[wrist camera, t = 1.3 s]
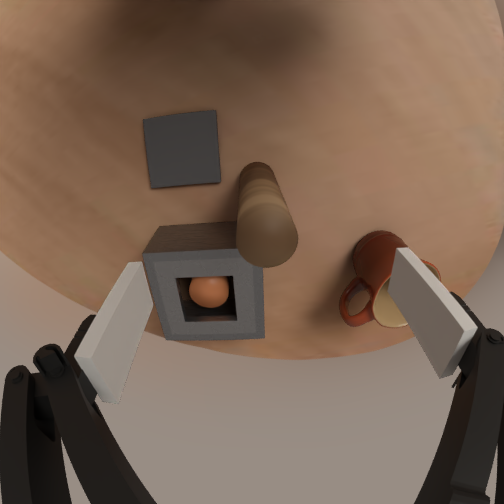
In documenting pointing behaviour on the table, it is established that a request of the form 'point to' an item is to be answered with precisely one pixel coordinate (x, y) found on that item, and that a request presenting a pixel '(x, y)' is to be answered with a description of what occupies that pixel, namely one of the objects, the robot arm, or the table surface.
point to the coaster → (182, 149)
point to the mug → (376, 280)
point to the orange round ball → (209, 290)
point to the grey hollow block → (204, 265)
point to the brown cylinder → (263, 219)
